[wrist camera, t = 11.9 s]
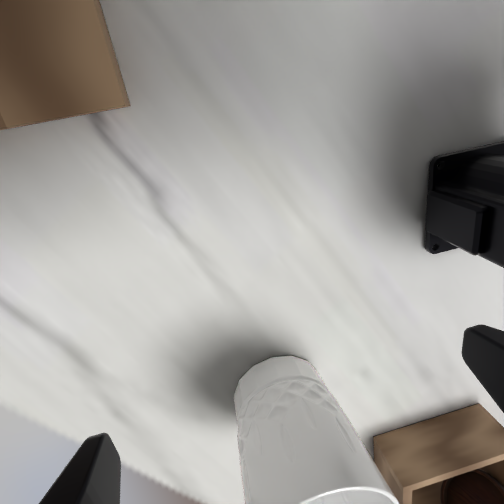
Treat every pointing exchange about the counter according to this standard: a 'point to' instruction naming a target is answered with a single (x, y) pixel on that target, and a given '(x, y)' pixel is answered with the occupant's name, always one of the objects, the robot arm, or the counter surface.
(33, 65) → the walnut square frame
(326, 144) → the counter surface
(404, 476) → the walnut watch frame
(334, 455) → the white cup
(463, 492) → the dark brown rounded piece
